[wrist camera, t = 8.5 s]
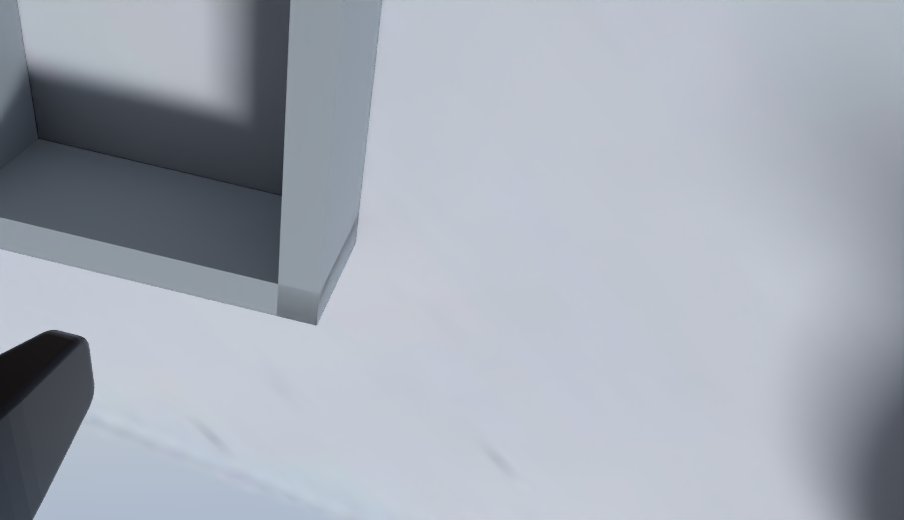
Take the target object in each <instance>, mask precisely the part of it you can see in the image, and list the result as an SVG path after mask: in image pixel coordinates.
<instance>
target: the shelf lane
mask: <svg viewBox="0 0 904 520" xmlns="http://www.w3.org/2000/svg"><path fill="white" fill-rule="evenodd" d="M381 5H382V0H290V21H289V44H288V67H287V90H286V114H285V137H284V160H283V183H282V196H280V195H276V194H272V193H267V192H263V191H259V190H255V189H250V188H246V187H242V186H238V185H233V184H229V183H225V182H221V181H216V180H212V179H208V178H204V177H199V176H195V175H191V174H187V173H182V172H178V171H174V170H169V169H165V168H161V167H157V166H152V165H148V164H144V163H140V162H135V161H131V160H127V159H123V158H118V157H114V156H110V155H106V154H101V153H97V152H93V151H89V150H84V149H80V148H76V147H72V146H67V145H63V144H59V143H55V142H50V141H46V140H42V139H38V134H37V128H36V121H35V115H34V109H33V102H32V96H31V89H30V83H29V76H28V70H27V64H26V57H25V51H24V44H23V38H22V31H21V25H20V19H19V12H18V6H17V0H0V249H3V250H7V251H11V252H15V253H19V254H23V255H27V256H32V257H36V258H40V259H44V260H48V261H52V262H56V263H61V264H65V265H69V266H73V267H77V268H81V269H85V270H89V271H94V272H98V273H102V274H106V275H110V276H114V277H118V278H122V279H127V280H131V281H135V282H139V283H143V284H147V285H151V286H156V287H160V288H164V289H168V290H172V291H176V292H180V293H184V294H189V295H193V296H197V297H201V298H205V299H209V300H213V301H217V302H222V303H226V304H230V305H234V306H238V307H242V308H246V309H251V310H255V311H259V312H263V313H267V314H271V315H275V316H279V317H284V318H288V319H292V320H296V321H300V322H304V323H308V324H312V325H317V324H318V322H319V320H320V317H321V315H322V313H323V311H324V309H325V307H326V305H327V303H328V301H329V298H330V296H331V294H332V292H333V290H334V288H335V286H336V284H337V282H338V279H339V277H340V275H341V273H342V271H343V269H344V267H345V265H346V263H347V260H348V258H349V256H350V254H351V252H352V250H353V248H354V246H355V242H356V233H357V224H358V215H359V206H360V197H361V188H362V179H363V170H364V160H365V151H366V142H367V133H368V124H369V115H370V106H371V97H372V87H373V78H374V69H375V60H376V51H377V42H378V33H379V24H380V15H381Z"/></svg>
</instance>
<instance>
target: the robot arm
mask: <svg viewBox="0 0 904 520" xmlns="http://www.w3.org/2000/svg"><path fill="white" fill-rule="evenodd" d="M93 394H94V379H93V372H92V364H91V356H90V349H89V344H88V342H87V341H86V339H85V338H83V337H81V336H78V335H74V334H70V333H66V332H62V331H58V330H50V331H46V332H44V333H41V334H39V335H37V336H35V337H33V338H32V339H30V340H28V341H26V342H24V343H22V344H20V345H18V346H16V347H14V348H12V349H10V350H8V351H6V352H4V353H2V354H0V520H33V518H34V516H35V514H36V512H37V511H38V509H39V507H40V505H41V503H42V501H43V499H44V497H45V495H46V493H47V491H48V489H49V487H50V485H51V483H52V481H53V479H54V477H55V475H56V473H57V471H58V469H59V467H60V465H61V463H62V461H63V459H64V457H65V455H66V453H67V451H68V449H69V447H70V445H71V443H72V441H73V439H74V437H75V435H76V433H77V431H78V429H79V427H80V425H81V423H82V421H83V419H84V417H85V415H86V413H87V411H88V409H89V407H90V404H91V402H92V399H93Z"/></svg>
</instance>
